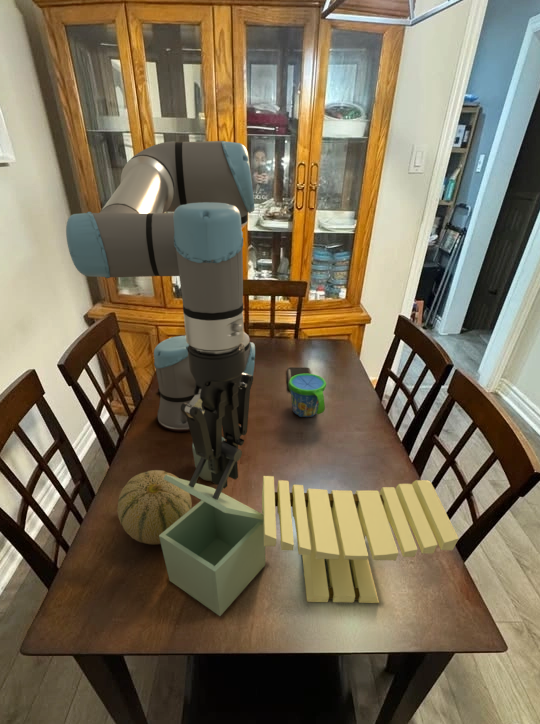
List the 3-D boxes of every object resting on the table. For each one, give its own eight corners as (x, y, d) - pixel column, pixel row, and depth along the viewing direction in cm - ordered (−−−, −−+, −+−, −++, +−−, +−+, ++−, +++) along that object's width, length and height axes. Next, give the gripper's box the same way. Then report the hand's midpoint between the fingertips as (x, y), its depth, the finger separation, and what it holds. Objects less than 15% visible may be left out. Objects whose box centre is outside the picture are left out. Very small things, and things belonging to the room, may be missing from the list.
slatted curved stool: (401, 536, 87) (426, 472, 76) (425, 603, 75) (458, 538, 64) (259, 533, 86) (263, 467, 75) (260, 600, 74) (264, 534, 63)
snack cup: (333, 421, 121) (337, 390, 115) (301, 428, 118) (303, 397, 112) (308, 396, 132) (311, 367, 126) (278, 403, 129) (279, 373, 123)
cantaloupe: (153, 499, 95) (142, 446, 86) (208, 519, 91) (202, 466, 81) (109, 544, 85) (90, 490, 76) (168, 569, 80) (156, 515, 71)
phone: (288, 387, 134) (287, 367, 146) (288, 391, 135) (287, 370, 147) (312, 388, 134) (309, 367, 146) (312, 391, 135) (309, 370, 146)
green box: (220, 616, 72) (215, 571, 64) (169, 580, 78) (158, 535, 70) (265, 565, 81) (265, 519, 73) (216, 536, 87) (212, 491, 79)
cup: (223, 488, 98) (220, 455, 92) (191, 483, 100) (187, 450, 93) (231, 467, 104) (229, 435, 98) (202, 463, 106) (198, 431, 99)
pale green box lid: (224, 512, 60) (251, 454, 60) (163, 478, 66) (188, 425, 66) (264, 520, 73) (287, 472, 73) (211, 491, 78) (231, 447, 79)
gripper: (197, 371, 48) (211, 515, 62) (272, 332, 57) (269, 465, 72) (152, 355, 51) (176, 495, 66) (230, 321, 61) (236, 450, 75)
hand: (225, 479), depth 69 cm, fingers closed on pale green box lid, 2 cm apart
